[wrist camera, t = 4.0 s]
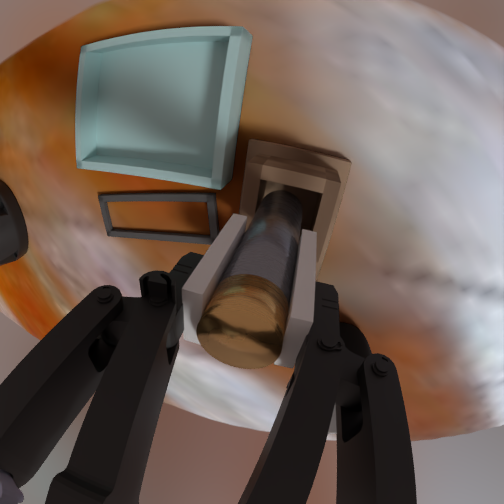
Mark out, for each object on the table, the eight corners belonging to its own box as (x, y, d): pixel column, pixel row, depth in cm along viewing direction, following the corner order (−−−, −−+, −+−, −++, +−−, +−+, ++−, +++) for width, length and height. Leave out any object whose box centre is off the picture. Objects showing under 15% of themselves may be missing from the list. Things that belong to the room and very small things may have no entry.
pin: (257, 224, 20) (196, 355, 10) (263, 185, 18) (196, 300, 8) (297, 233, 20) (272, 376, 10) (306, 195, 18) (291, 324, 8)
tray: (95, 160, 25) (76, 168, 22) (101, 47, 18) (81, 46, 16) (231, 179, 23) (220, 190, 20) (252, 36, 16) (242, 26, 14)
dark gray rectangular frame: (110, 234, 29) (107, 236, 29) (100, 194, 27) (97, 195, 26) (220, 242, 26) (218, 245, 26) (215, 192, 24) (213, 194, 23)
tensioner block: (234, 261, 27) (201, 325, 20) (251, 138, 21) (211, 160, 13) (314, 281, 26) (307, 353, 19) (350, 160, 20) (369, 195, 12)
